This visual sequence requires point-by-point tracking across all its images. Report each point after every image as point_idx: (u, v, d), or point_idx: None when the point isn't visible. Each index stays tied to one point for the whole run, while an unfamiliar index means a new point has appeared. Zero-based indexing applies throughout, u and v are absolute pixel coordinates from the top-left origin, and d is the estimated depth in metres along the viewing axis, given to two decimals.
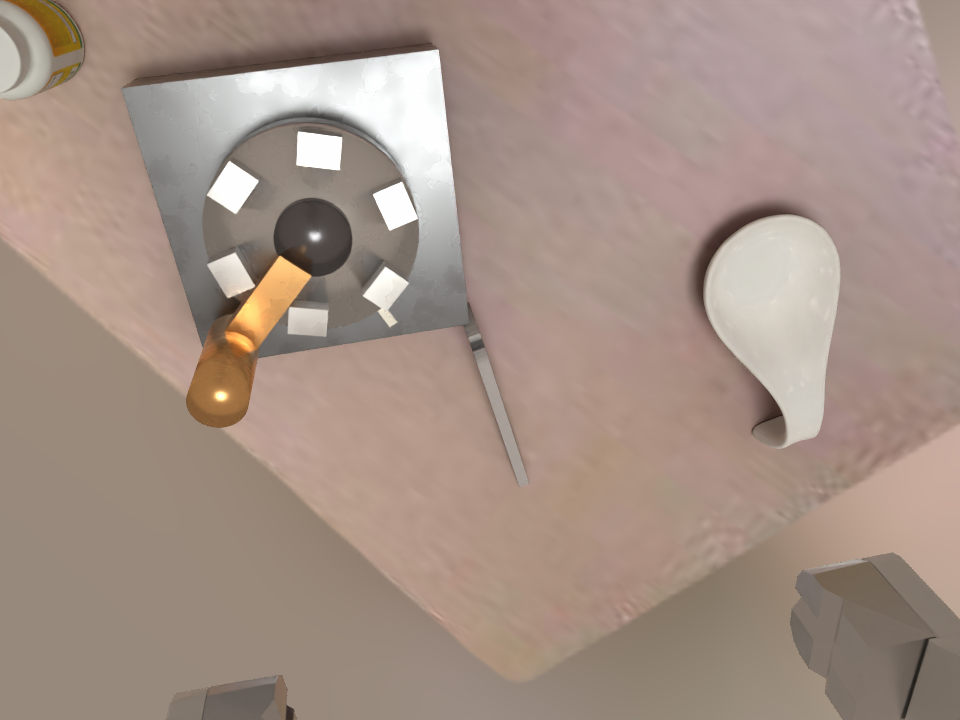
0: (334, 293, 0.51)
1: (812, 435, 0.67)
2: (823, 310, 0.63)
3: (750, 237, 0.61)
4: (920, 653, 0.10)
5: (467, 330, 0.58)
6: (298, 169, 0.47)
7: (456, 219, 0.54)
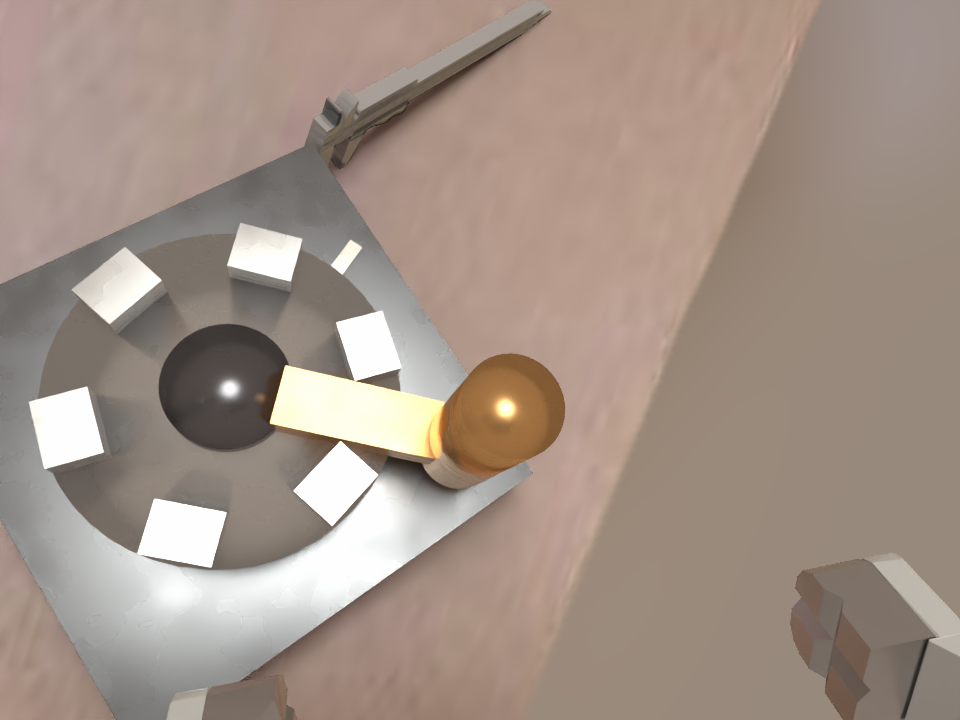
0: (315, 328, 0.32)
1: None
2: None
3: None
4: (920, 653, 0.10)
5: (321, 140, 0.38)
6: (127, 450, 0.29)
7: (154, 216, 0.35)
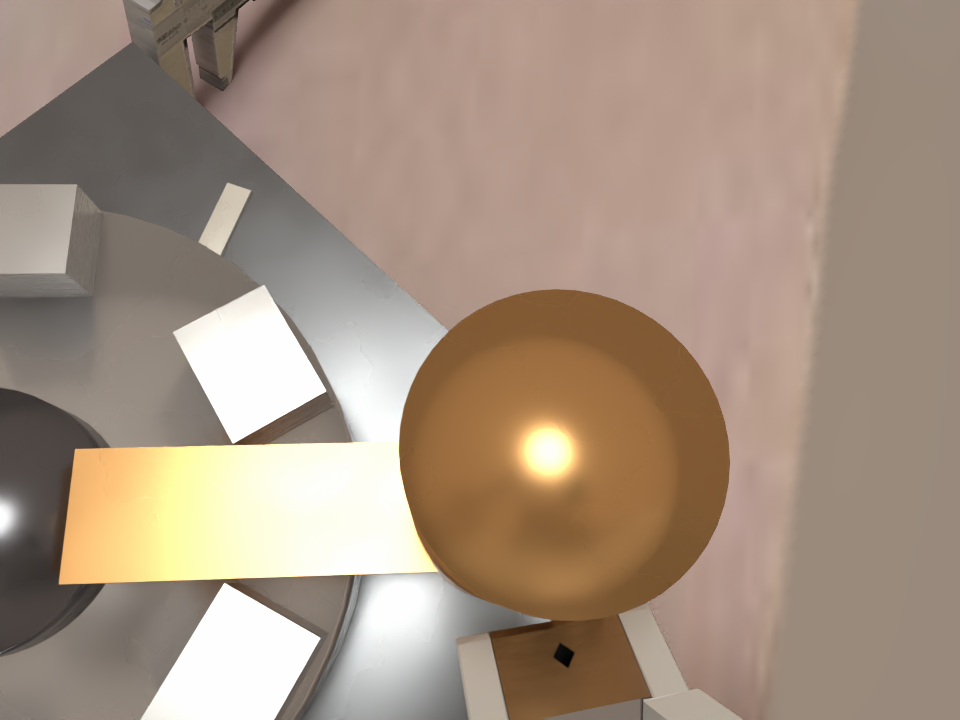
0: (154, 352, 0.16)
1: None
2: None
3: None
4: (637, 713, 0.10)
5: (149, 31, 0.22)
6: None
7: None
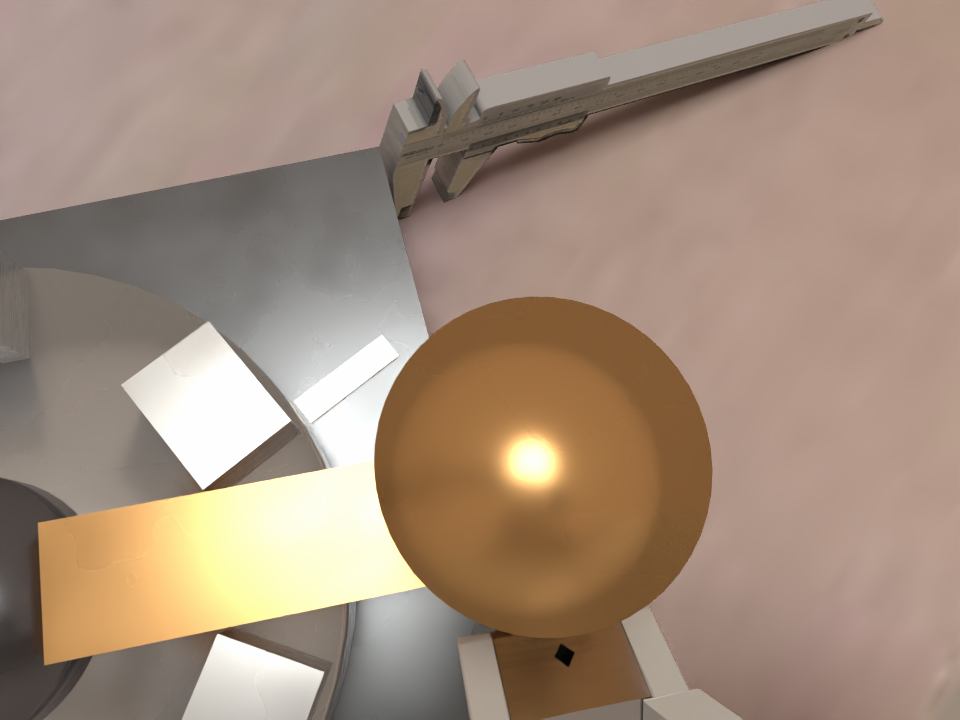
0: (105, 407, 0.15)
1: None
2: None
3: None
4: (637, 713, 0.10)
5: (400, 145, 0.21)
6: None
7: (65, 210, 0.20)
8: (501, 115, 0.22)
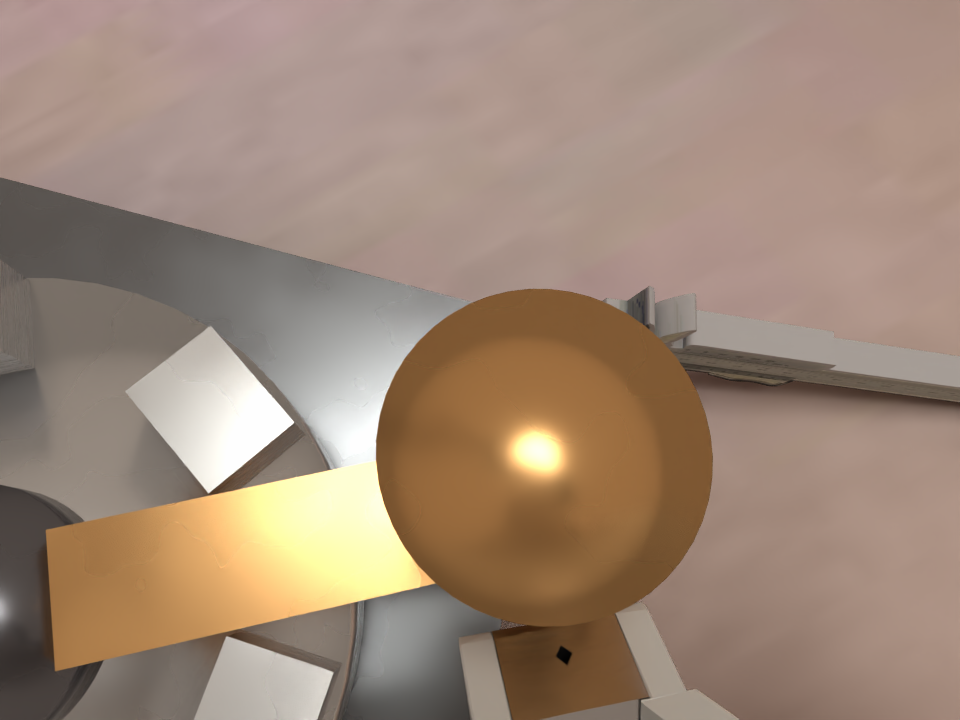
0: (110, 414, 0.15)
1: None
2: None
3: None
4: (635, 714, 0.10)
5: None
6: None
7: (264, 250, 0.20)
8: (705, 353, 0.20)
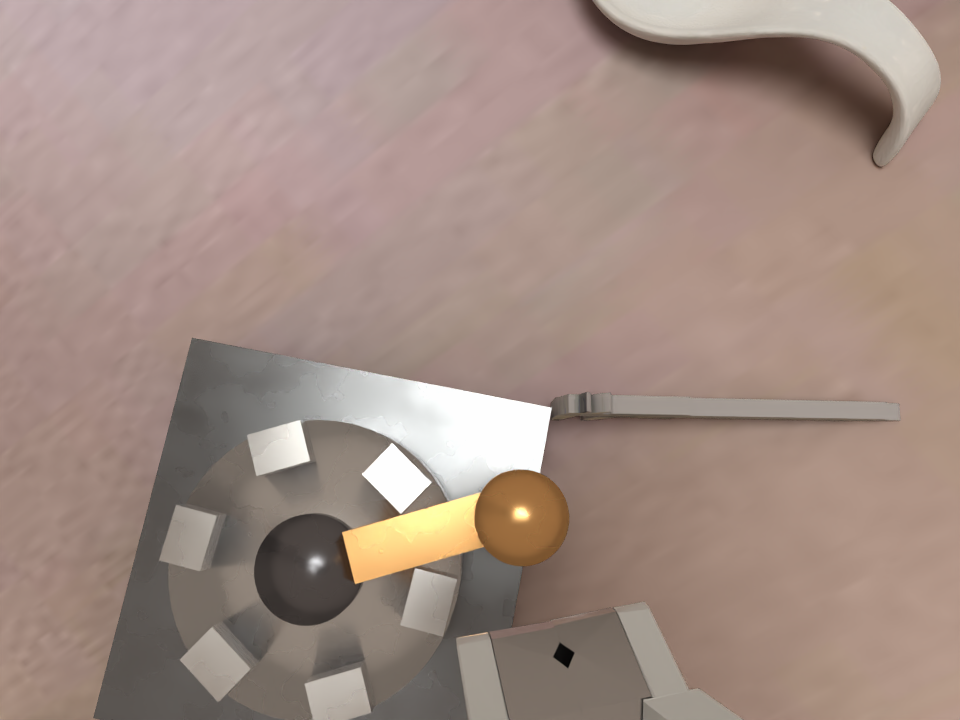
0: (350, 479, 0.36)
1: (926, 56, 0.41)
2: None
3: None
4: (637, 713, 0.10)
5: (563, 411, 0.40)
6: (266, 650, 0.35)
7: (396, 379, 0.40)
8: (621, 414, 0.40)
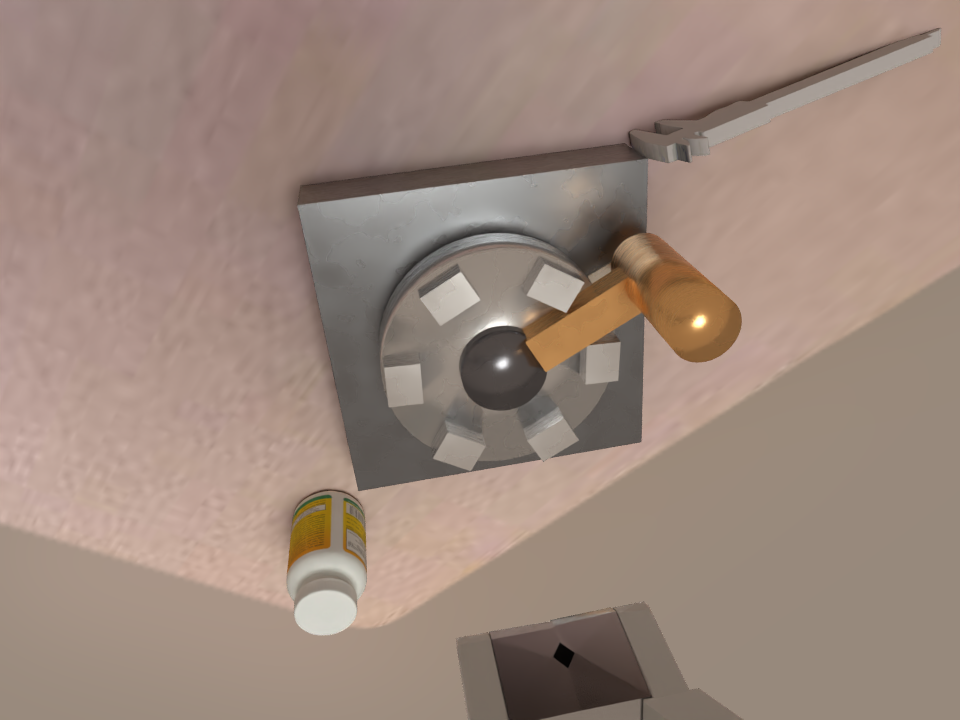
0: (509, 294, 0.42)
1: None
2: None
3: None
4: (637, 713, 0.10)
5: (660, 159, 0.42)
6: (485, 426, 0.46)
7: (502, 179, 0.42)
8: None
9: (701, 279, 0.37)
